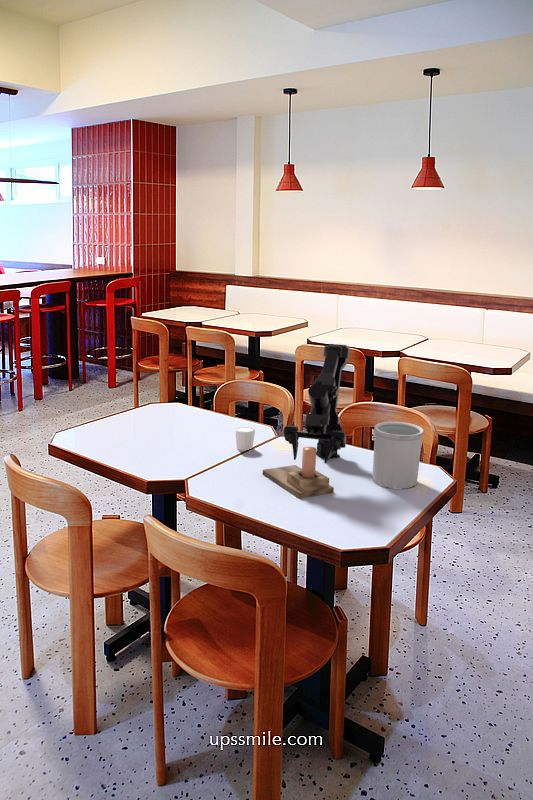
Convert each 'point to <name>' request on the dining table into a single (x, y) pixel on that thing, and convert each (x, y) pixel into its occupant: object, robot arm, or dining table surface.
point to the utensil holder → (396, 454)
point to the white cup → (244, 438)
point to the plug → (308, 462)
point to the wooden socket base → (299, 481)
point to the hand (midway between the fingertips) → (309, 461)
